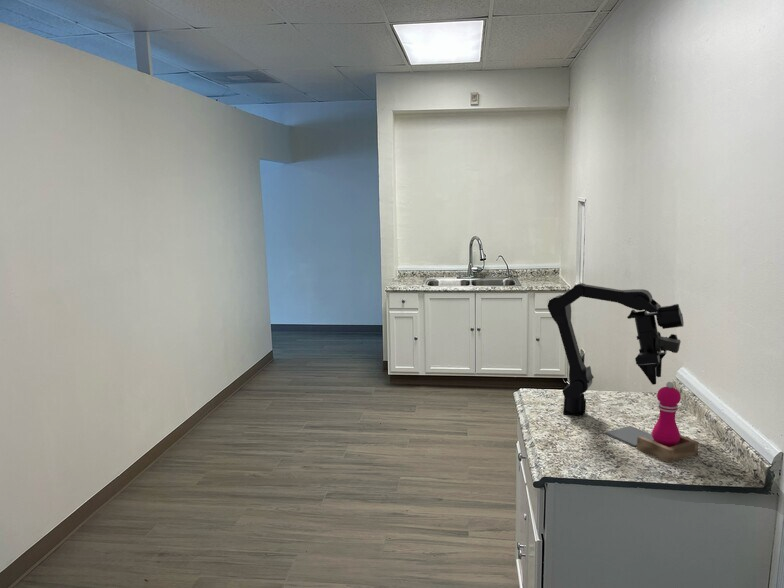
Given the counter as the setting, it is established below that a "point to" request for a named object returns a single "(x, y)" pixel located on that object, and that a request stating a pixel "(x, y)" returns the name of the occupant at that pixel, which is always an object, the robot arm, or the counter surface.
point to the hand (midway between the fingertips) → (656, 380)
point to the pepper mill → (667, 416)
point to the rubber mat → (629, 435)
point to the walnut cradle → (669, 449)
